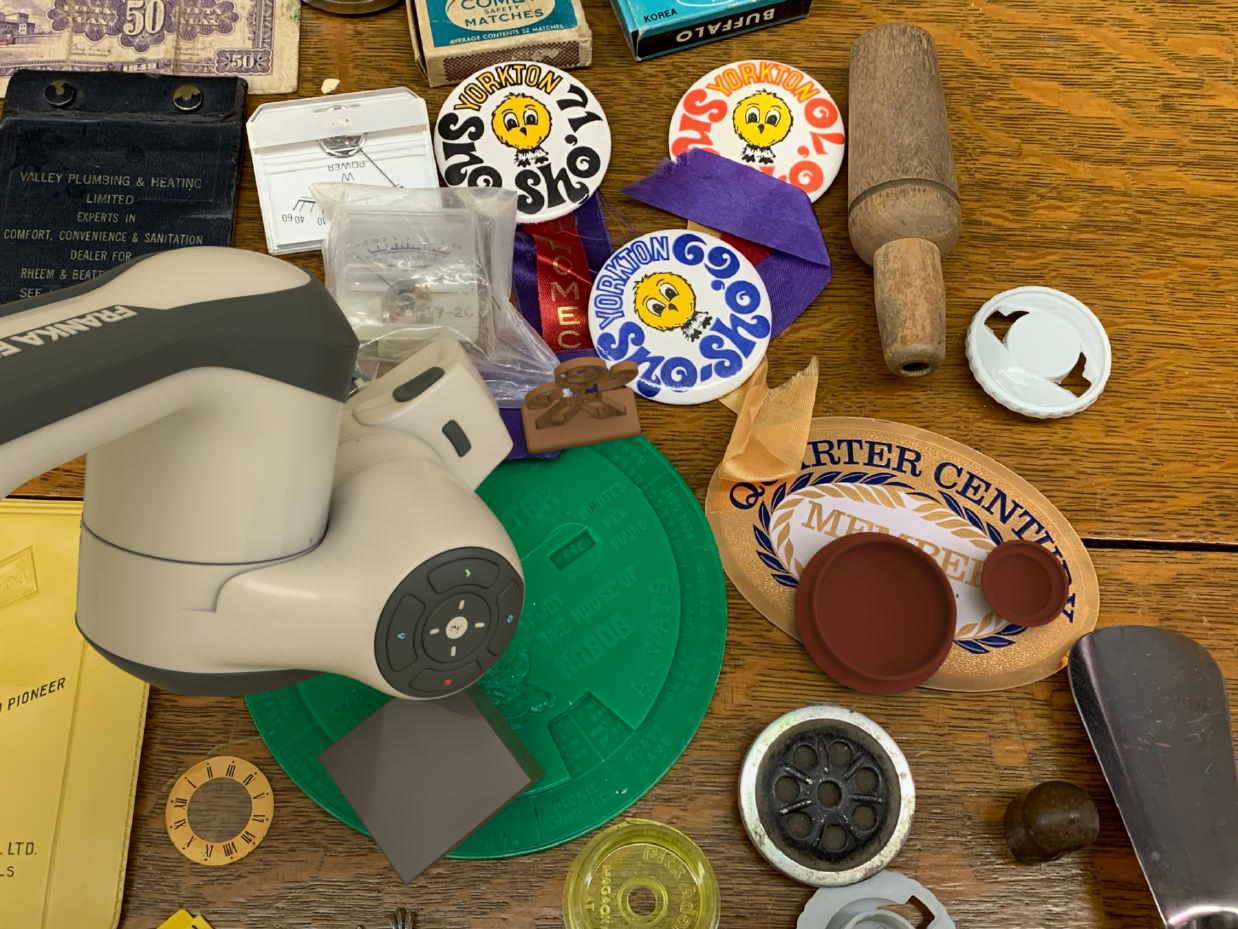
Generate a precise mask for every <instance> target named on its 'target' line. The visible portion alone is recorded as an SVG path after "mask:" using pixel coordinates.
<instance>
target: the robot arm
mask: <svg viewBox="0 0 1238 929" xmlns="http://www.w3.org/2000/svg"><path fill="white" fill-rule="evenodd" d="M360 345H361V342H360V340H359V338H358V336H357V334H356V332H355V330H354V329H353V327H352V325H351V323H350V321H349V320H348V317H347V316H346V315H345V313H344V311H343V310H342V309H341V307H340V305H339V304H338V302H337V301H336V300H335V298H334V297H333V296H332V294H331V293H330V291H329V290H328V289H327V288H326V287H325V285H324V284H323V282H322V281H321V280H320V279H319V278H318V277H317V276H316V275H315V274H314V273H313V272H312V271H310V270H308V269H306V268H304V267H302V266H299V265H297V264H294V263H291V262H288V261H286V260H283V259H281V258H278V257H274V256H271V255H269V254H265V253H261V252H257V251H253V250H250V249H249V250H248V249H243V248H237V247H230V246H229V247H228V246H217V245H216V246H214V245H201V246H199V245H198V246H188V247H181V248H176V249H170V250H161V251H153V252H150V253H145V254H141V255H139V256H136V257H134V258H131V259H130V260H128V261H125V262H123V263H122V264H119V265H117V266H115V267H113V268H111V269H109V270H107V271H105V272H103V273H102V274H100V275H98V276H95V277H93V278H91V279H89V280H86V281H84V282H81V283H78V284H75V285H71V286H68V287H65V288H61V289H57V290H53V291H49V292H45V293H42V294H38V295H34V296H30V297H27V298H26V297H25V298H23V299H22V298H21V299H19V300H15V301H11V302H7V303H3V304H0V502H2V501H3V500H4V499H5V498H6V497H7V496H9V495H10V494H12V492H14V491H15V490H16V489H18V488H19V487H21V486H22V485H24V484H25V483H27V482H29V481H31V480H33V479H35V478H37V477H40V476H42V475H43V474H46V473H48V472H49V471H52V470H55V469H56V468H58V467H60V466H62V465H64V464H67V463H69V462H72V461H74V460H76V459H77V458H80V457H83V456H84V455H85V467H84V468H85V469H84V482H83V483H84V484H83V501H82V511H81V518H80V521H79V529H80V533H79V537H78V538H79V539H78V542H79V543H78V556H77V557H78V558H77V562H78V563H77V577H76V578H77V579H76V598H75V607H76V608H75V609H76V610H75V613H74V623H75V626H76V628H77V630H78V631H79V633H80V634H81V636H82V637H83V638H84V640H85V641H86V642H87V644H89V646H91V648H92V649H94V650H95V652H97V653H98V654H99V655H100V656H101V657H103V658H104V660H106V661H108V662H109V663H111V664H112V665H114V666H115V667H116V668H118V669H119V670H121V671H123V672H125V673H126V674H128V675H131V676H133V677H134V678H136V679H138V680H140V681H142V682H144V683H146V684H149V685H151V686H153V687H156V688H158V689H160V690H162V691H165V692H168V693H172V694H176V695H180V696H185V697H195V698H197V697H198V698H224V697H225V698H230V697H242V696H250V695H257V694H262V693H268V692H271V691H276V690H280V689H284V688H287V687H288V688H289V687H291V686H294V685H297V684H300V683H302V682H305V681H308V680H311V679H313V678H317V677H319V676H322V675H325V674H327V673H331V674H336V675H340V676H345V677H347V678H351V679H353V680H356V681H359V682H360V683H362V684H365V685H367V686H369V687H371V688H373V689H375V690H377V691H378V692H381V693H384V694H386V695H388V696H392V697H398V698H403V699H409V700H428V699H437V698H442V697H446V696H449V695H452V694H454V693H456V692H459V691H461V690H463V689H464V688H466V687H468V686H470V685H471V684H473V683H474V682H475V681H476V682H477V681H478V680H480V679H481V678H482V677H483V676H485V675H486V674H487V673H488V672H489V671H490V670H491V669H492V668H493V667H494V665H496V664H497V662H498V661H499V660H500V659H501V658H502V656H503V655H504V654H505V652H506V650H507V649H508V647H509V646H510V644H511V642H512V641H513V639H514V637H515V635H516V632H517V629H518V627H519V623H520V620H521V618H522V617H521V616H522V613H523V608H524V603H525V597H526V596H525V594H526V582H525V576H524V572H523V567H522V563H521V561H520V558H519V555H518V552H517V550H516V548H515V545H514V543H513V541H512V538H511V537H510V536H509V534H508V533H507V530H506V528H504V526H503V524H502V523H501V522H500V520H499V519H498V517H497V516H496V515H495V513H494V512H493V511H492V510H491V509H490V508H489V506H488V505H487V504H486V502H484V500H483V499H482V498H481V497H480V496H479V495H478V494H477V493H476V492H475V491H476V490H477V489H478V487H479V486H480V485H481V484H482V483H483V482H484V481H485V479H486V478H487V477H488V476H489V475H490V474H491V473H492V472H493V471H494V470H495V469H496V468H497V466H499V465H500V464H501V463H502V462H503V460H505V458H506V457H507V456H508V455H509V454H510V453H511V451H512V449H513V447H514V442H513V440H512V437H511V435H510V433H509V430H508V429H507V426H506V425H505V423H504V420H503V418H502V416H501V415H500V408H499V405H498V402H497V401H496V398H495V397H494V395H493V393H492V391H491V390H490V388H489V387H488V385H487V383H486V382H485V380H484V378H483V376H482V375H481V373H480V371H479V370H478V369H477V367H476V365H475V364H474V362H473V360H472V359H471V357H470V356H469V355H468V353H467V351H466V350H465V348H464V347H463V345H462V344H461V343H460V342H459V341H458V340H457V338H454V337H453V336H445V337H441V338H438V339H436V340H433V341H432V342H430V343H428V344H427V345H426V346H424V347H423V348H421V349H420V350H419V351H417V352H416V353H414V354H413V355H411V356H410V357H408V358H407V359H406V360H404V361H403V362H401V363H400V364H398V365H396V366H395V367H393V368H392V369H391V370H389V371H388V372H386V373H384V375H382V376H380V377H379V378H377V379H371V380H372V381H367V382H364V381H363V380H362V379H361V378H358V379H357V380H355V381H354V382H352V383H351V381H352V377H353V372H354V370H355V368H356V364H357V363H356V362H357V358H358V354H359V349H360Z"/></svg>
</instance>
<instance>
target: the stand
mask: <svg viewBox="0 0 1238 929" xmlns="http://www.w3.org/2000/svg"><path fill="white" fill-rule="evenodd" d="M316 758H317V760H318V761H319V763H320V764H321V766H322V767H323V768H324V770H325V771H326V773H327V774H328V776H329V777H330V779H331V780H332V782H333V783H334V785H335V786H336V787H337V789H338V790H339V792H340V793H341V795H342V796H343V797H344V799H345V800H346V802H347V803H348V805H349V807H351V810H352V811H353V812H354V814H355V815H356V817H357V818H358V819H359V821H360V822H361V824H362V825H363V827H364V828H365V829H366V831H367V833H368V834H369V835H370V837H371V839H373V841H374V843H375V845H376V846H377V847H378V848H379V850H380V851H381V853H382V854H383V856H384V857H385V859H386V860H387V861H388V863H389V865H390V866H391V867H392V869H393V870H394V872H395V874H396V875H397V876H398V877H399V879H400V880H401V882H402V884H403V885H404V886H409V885H410V884H411V883H413V882H414V881H415V880H416V879H418V878H419V877H421V876H422V875H424V874H425V873H426V872H427V871H429V870H430V869H432V868H433V866H436V865H437V864H438V863H439V862H441V861H442V860H443V859H444V858H446V857H447V856H448V855H450V854H451V853H452V852H454V851H455V850H456V849H458V848H459V847H460V846H461V845H462V844H464V843H465V842H466V841H467V840H468V839H470V838H471V837H472V836H473V835H474V834H476V833H477V832H478V831H479V830H481V828H483V827H484V826H485V825H486V824H488V823H489V822H490V821H491V820H493V819H494V818H495V817H496V816H497V815H498V814H500V813H501V812H502V811H503V810H505V809H506V808H507V807H509V805H510V804H512V803H513V802H514V801H516V799H518V798H519V797H520V796H522V795H523V794H524V793H525V792H526V791H527V790H529V789H530V788H531V787H533V786H534V785H535V784H536V783H537V782H539V780H541V779H542V778H543V777H545V775H546V771H545V770H544V769H543V768H542V766H541V765H540V764H539V762H538V760H536V758H535V757H534V756H533V754H532V753H531V752H530V750H529V749H528V747H527V746H526V745H525V743H523V741H522V739H521V738H520V737H519V735H518V734H517V733H516V731H515V730H514V729H513V728H512V726H511V725H510V724H509V722H508V721H507V720H506V718H505V717H504V715H503V714H502V713H501V711H500V710H499V709H498V707H497V706H496V705H495V703H494V702H493V701H492V699H491V698H490V697H489V695H488V694H487V693H486V691H485V690H484V688H483V687H482V686H481V684H480V683H479V682H477V681H475V682H474V683H473V684H471V685H470V686H468V687H466V688H464V689H463V690H461V691H459V692H456V693H454V694H452V695H449V696H446V697H442V698H437V699H428V700H409V699H403V698H398V697H394V696H392V697H391V698H390V699H389V700H388V701H386V702H385V703H383V705H381V706H380V707H378V708H377V709H376V710H374V712H372V713H371V714H370V715H368V716H367V717H366V718H364V719H363V720H362V721H361V722H359V723H358V724H356V726H354V727H353V728H352V729H350V730H348V732H346V733H345V734H344V735H342V736H341V737H340V738H338V739H337V740H336V741H335V742H333V743H332V744H331V745H330V746H328V747H327V748H326V749H325V750H323V751H322V752H320V753H319V754H318V755H317V756H316Z"/></svg>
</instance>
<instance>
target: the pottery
mask: <svg viewBox="0 0 1238 929" xmlns="http://www.w3.org/2000/svg"><path fill="white" fill-rule="evenodd" d="M980 583H981V584H980V585H981V590H982V594H983V596H984V598H985V601H986V602H987V604H988V606H989V607H990V608H991V609H992V610H993V612H995V614H997V616H999V617H1000V618H1002V619H1003V620H1004V621H1006V622H1007V623H1010V624H1012V625H1014V626H1017V627H1022V628H1027V629H1028V628H1029V629H1030V628H1032V629H1033V628H1040V627H1043V626H1046V625H1048V624H1050V623H1052V622H1054V621H1055V620H1057V619H1058V617H1059V616H1061V615H1062V612H1063V611H1064V610H1065V608H1066V606H1067V603H1068V601H1069V596H1070V582H1069V577H1068V574H1067V572H1066V569H1065V567H1064V565H1063V563H1062V561H1060V559H1059V558H1058V557H1057V556H1056V554H1055V553H1053V551H1051V550H1050V549H1049V548H1048V547H1046V546H1044V545H1042V544H1040V543H1038V542H1036V541H1033V540H1029V539H1010V540H1006V541H1004V542H1002V543H1000V544H998V545H996V546H995V547H994V548H993V549H992V550H991V551H990V552H989V553H988V554H987V556H986V557H985V559H984V561H983V563H982V567H981V571H980ZM957 618H958V609H957V601H956V596H955V593H954V589H953V587H952V585H951V582H950V580H949V578H948V577H947V574H946V573H945V571H944V570H943V568H942V567H941V566H940V565H939V564H938V562H937V561H936V560H935V559H934V558H933V556H931V555H930V554H929V553H927V552H926V551H925V550H923V549H922V548H920V547H919V546H917V545H915V544H914V543H912V542H909V541H907V540H906V539H903V538H902V537H898V536H896V535H892V534H890V533H884V532H880V531H879V532H877V531H861V532H860V531H859V532H854V533H849V534H845V535H842V536H840V537H837V538H835V539H833V540H832V541H830V542H828V543H827V544H825V545H824V546H822V547H821V548H820V549H818V550H817V552H815V554H814V555H812V557H811V558H809V561H808V562H807V563H806V565H805V567H804V568H803V570H802V572H801V574H800V577H799V579H798V582H797V585H796V589H795V595H794V619H795V623H796V624H795V625H796V628H797V632H798V635H799V638H800V640H801V643H802V645H803V646H804V648H805V650H806V652H807V653H808V655H809V657H810V658H811V659H812V661H813V662H814V663H815V665H817V667H818V668H819V669H820V670H821V671H823V673H825V674H826V675H827V676H828V677H830V678H831V679H832V680H834V681H835V682H837V683H838V684H840V685H842V686H844V687H846V688H849V689H850V690H853V691H856V692H859V693H863V694H868V695H877V696H886V695H895V694H901V693H904V692H908V691H910V690H912V689H914V688H917V687H918V686H920V685H922V684H924V683H925V682H926V681H928V680H929V679H930V678H932V677H933V676H934V675H935V674H936V673H937V672H938V671H939V669H940V668H941V667H942V665H944V663H945V661H946V659H947V658H948V656H949V654H950V651H951V649H952V647H953V644H954V640H955V636H956V630H957Z"/></svg>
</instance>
